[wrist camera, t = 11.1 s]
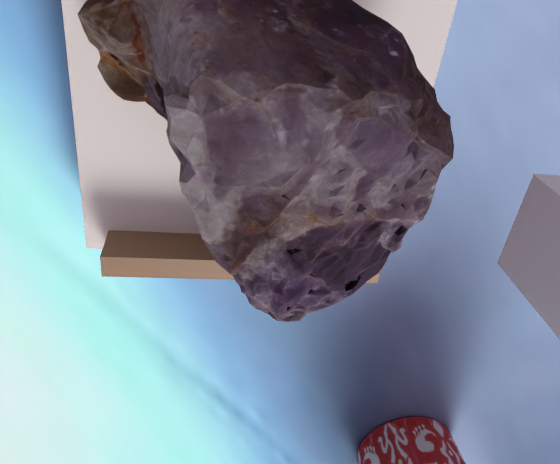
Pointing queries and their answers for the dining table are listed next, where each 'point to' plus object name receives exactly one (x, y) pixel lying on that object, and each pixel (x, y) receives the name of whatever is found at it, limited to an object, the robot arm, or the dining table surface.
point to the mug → (409, 443)
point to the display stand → (163, 161)
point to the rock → (283, 133)
